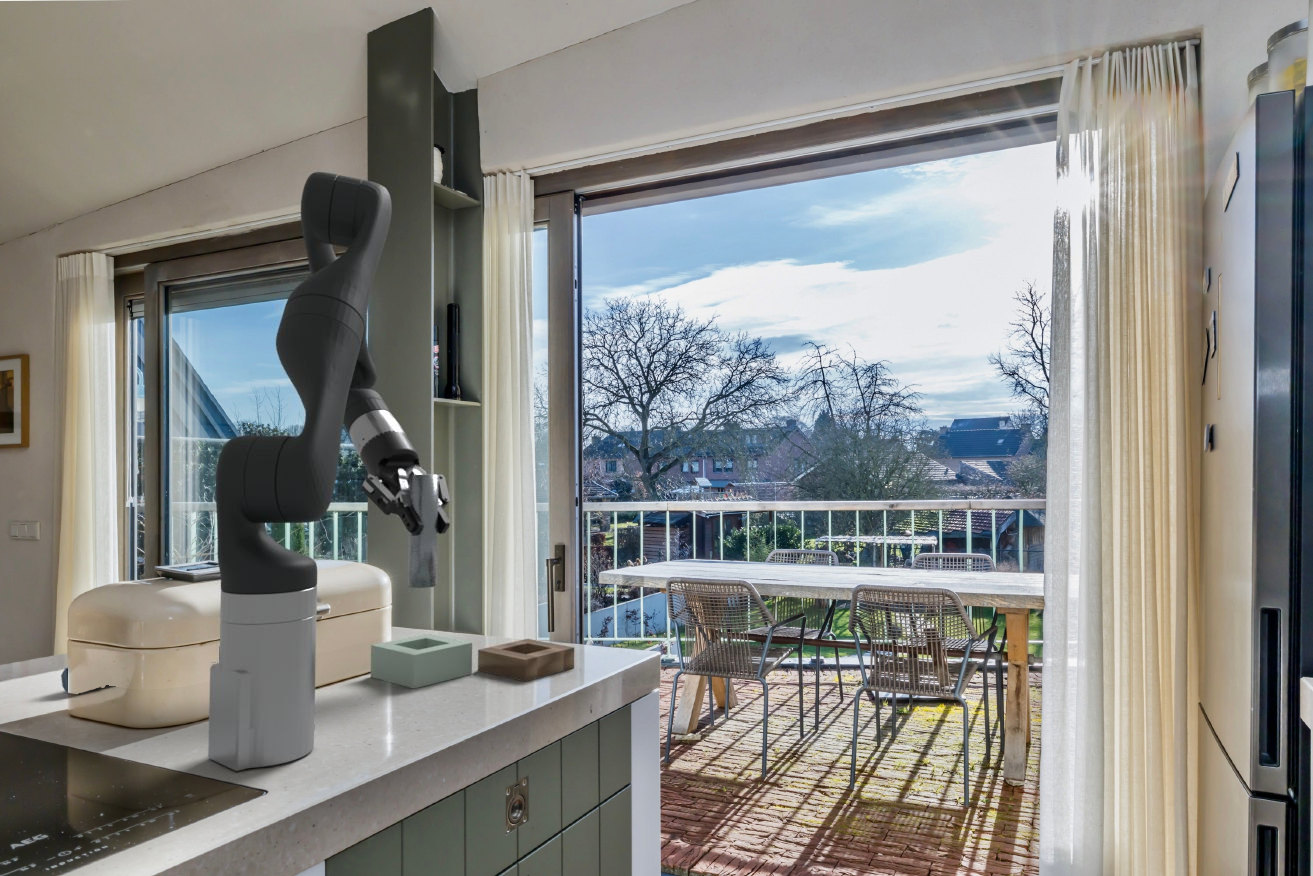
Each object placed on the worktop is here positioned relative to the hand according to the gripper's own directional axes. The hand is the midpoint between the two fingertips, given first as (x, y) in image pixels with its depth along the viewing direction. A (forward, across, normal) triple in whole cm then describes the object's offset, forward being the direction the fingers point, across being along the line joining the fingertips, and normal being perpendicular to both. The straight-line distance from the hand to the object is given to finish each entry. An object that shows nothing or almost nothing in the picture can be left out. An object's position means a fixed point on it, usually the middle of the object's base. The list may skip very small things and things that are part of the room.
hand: (432, 530), depth 118 cm
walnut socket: (+20, +12, +10) cm, 25 cm away
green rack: (+13, 0, +16) cm, 21 cm away
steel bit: (+4, 0, +7) cm, 8 cm away
